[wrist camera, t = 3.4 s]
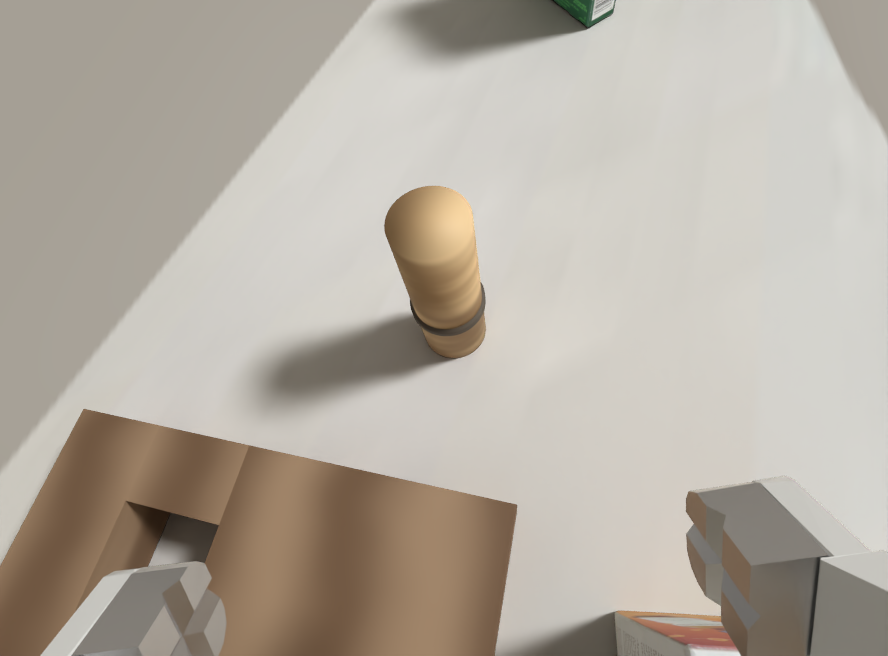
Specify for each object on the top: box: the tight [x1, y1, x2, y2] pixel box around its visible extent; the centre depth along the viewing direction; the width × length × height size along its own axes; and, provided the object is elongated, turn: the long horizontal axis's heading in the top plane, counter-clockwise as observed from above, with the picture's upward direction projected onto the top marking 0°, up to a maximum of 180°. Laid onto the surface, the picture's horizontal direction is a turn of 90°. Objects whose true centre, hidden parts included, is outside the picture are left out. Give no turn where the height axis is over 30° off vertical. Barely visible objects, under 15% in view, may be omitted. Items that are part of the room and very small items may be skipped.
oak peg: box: [384, 186, 486, 358], centre depth 24 cm, size 4×4×10 cm
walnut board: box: [0, 409, 517, 656], centre depth 22 cm, size 22×12×4 cm, turn 77°
